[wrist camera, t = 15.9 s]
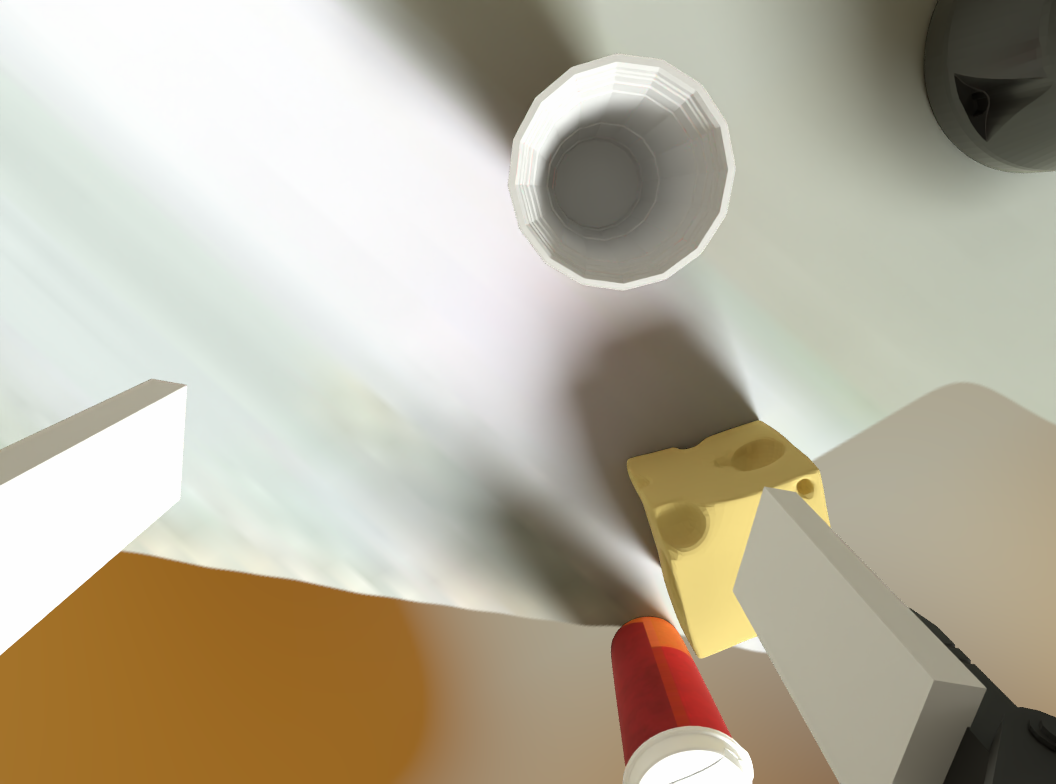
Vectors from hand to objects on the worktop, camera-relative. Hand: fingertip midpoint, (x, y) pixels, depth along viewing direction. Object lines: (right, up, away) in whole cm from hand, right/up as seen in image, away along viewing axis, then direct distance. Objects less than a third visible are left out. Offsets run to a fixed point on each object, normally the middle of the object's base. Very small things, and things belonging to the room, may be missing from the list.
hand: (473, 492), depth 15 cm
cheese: (+15, -5, +35) cm, 38 cm away
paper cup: (+11, -18, +38) cm, 43 cm away
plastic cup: (+5, +16, +29) cm, 33 cm away
